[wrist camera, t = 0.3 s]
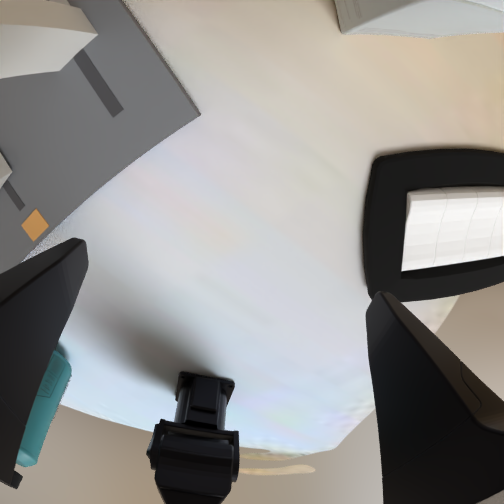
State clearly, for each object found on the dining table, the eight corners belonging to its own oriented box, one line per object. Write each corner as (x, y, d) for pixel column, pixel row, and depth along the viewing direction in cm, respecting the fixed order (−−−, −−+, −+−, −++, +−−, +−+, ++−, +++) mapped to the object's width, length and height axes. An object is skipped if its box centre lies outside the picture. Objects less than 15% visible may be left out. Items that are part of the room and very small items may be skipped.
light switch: (547, 158, 18) (524, 287, 24) (528, 151, 20) (510, 274, 26) (369, 151, 19) (364, 319, 25) (357, 145, 22) (356, 300, 28)
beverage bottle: (58, 333, 32) (-9, 473, 14) (87, 368, 35) (39, 502, 18) (28, 336, 33) (-35, 458, 15) (56, 369, 36) (7, 487, 19)
